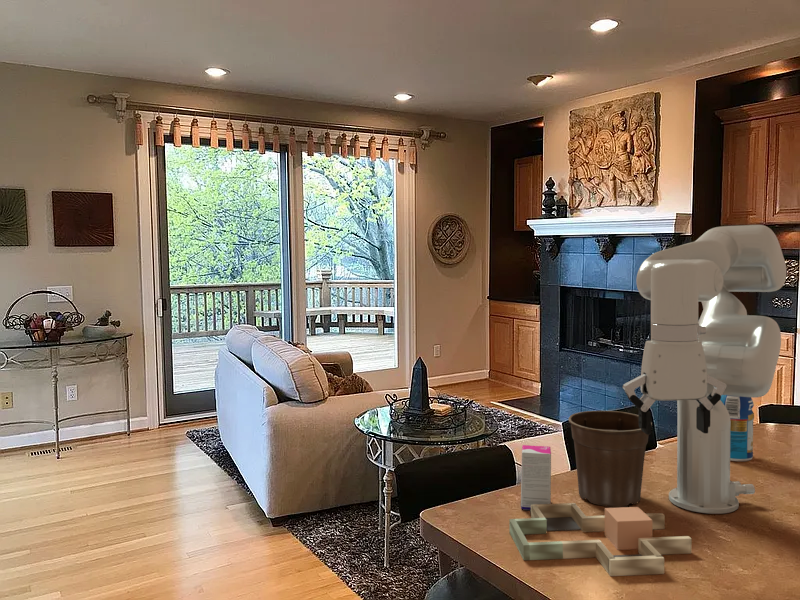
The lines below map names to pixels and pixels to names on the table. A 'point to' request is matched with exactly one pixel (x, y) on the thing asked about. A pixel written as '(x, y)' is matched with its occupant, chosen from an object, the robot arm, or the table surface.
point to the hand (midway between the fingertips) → (674, 431)
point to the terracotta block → (626, 526)
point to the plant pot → (609, 456)
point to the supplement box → (535, 476)
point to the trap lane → (575, 519)
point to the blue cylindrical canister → (740, 426)
